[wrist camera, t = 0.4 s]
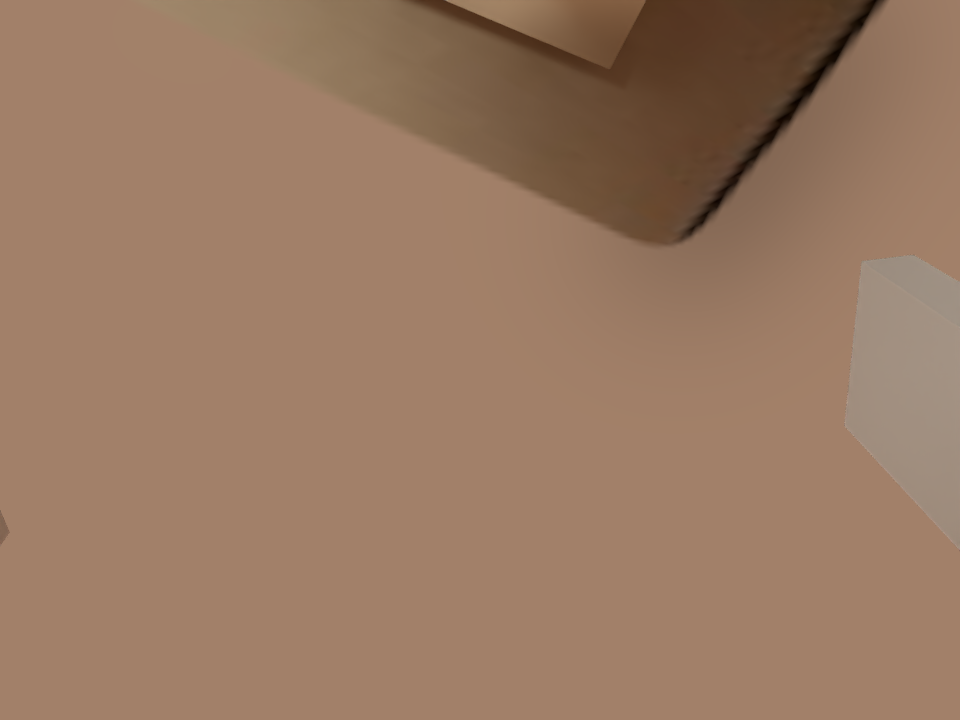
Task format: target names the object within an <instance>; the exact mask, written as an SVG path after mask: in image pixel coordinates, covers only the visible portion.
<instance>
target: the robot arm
mask: <svg viewBox="0 0 960 720" xmlns="http://www.w3.org/2000/svg"><path fill="white" fill-rule="evenodd" d="M844 426H845V427H846V428H847V429H848V430H849V431H850V433H851V434H852V435H853V436H854V437H855V438H856V439H857V440H858V441H859V442H860V443H861V444H862V445H863V447H864V448H865V449H866V450H867V451H868V452H869V453H870V454H871V455H872V456H873V457H874V458H875V460H876V461H877V462H878V463H879V464H880V465H881V466H882V467H883V468H884V469H885V470H886V471H887V472H888V474H889V475H890V476H891V477H892V478H893V479H894V480H895V481H896V482H897V483H898V484H899V485H900V486H901V488H902V489H903V490H904V491H905V492H906V493H907V494H908V495H909V496H910V497H911V498H912V500H914V502H915V503H916V504H917V505H918V506H919V507H920V508H921V509H922V510H923V511H924V512H925V513H926V514H927V516H928V517H929V518H930V519H931V520H932V521H933V522H934V523H935V524H936V525H937V527H938V528H939V529H940V530H941V531H942V532H943V533H944V534H945V535H946V536H947V537H948V538H949V539H950V540H951V542H952V543H953V544H954V545H955V546H956V547H957V548H958V549H959V550H960V282H959V281H957V280H955V279H954V278H952V277H950V276H949V275H947V274H945V273H943V272H942V271H940V270H938V269H937V268H935V267H933V266H932V265H930V264H928V263H926V262H925V261H923V260H922V259H920V258H918V257H916V256H915V255H908V256H899V257H892V258H884V259H875V260H867V261H862V262H861V271H860V281H859V290H858V300H857V309H856V318H855V328H854V337H853V347H852V356H851V367H850V375H849V385H848V394H847V404H846V414H845V423H844ZM8 534H9V530H8V527H7V525H6V523H5V521H4V518H3V516H2V514H1V512H0V545H1V544H2V543H3V541H4V540H5V538H6V537H7V535H8Z"/></svg>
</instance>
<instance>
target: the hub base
mask: <svg viewBox="0 0 960 720" xmlns="http://www.w3.org/2000/svg"><path fill="white" fill-rule="evenodd" d="M445 1H447V2H450V3H452V4H454V5H457V6H459V7H462V8H464V9H466V10H469V11H471V12H473V13H476V14H478V15H481V16H483V17H485V18H488V19H490V20H493V21H495V22H497V23H500V24H502V25H504V26H507V27H509V28H512V29H514V30H516V31H519V32H521V33H523V34H526V35H528V36H531V37H533V38H535V39H538V40H540V41H542V42H545V43H547V44H550V45H552V46H554V47H557V48H559V49H561V50H564V51H566V52H569V53H571V54H573V55H576V56H578V57H580V58H583V59H585V60H588V61H590V62H592V63H595V64H597V65H600V66H602V67H604V68H607V69H609V70H610V68H611V66H612V64H613V63H614V61H615V59H616V57H617V55H618V53H619V51H620V49H621V47H622V45H623V43H624V42H625V40H626V38H627V36H628V34H629V32H630V30H631V28H632V26H633V24H634V22H635V21H636V19H637V17H638V15H639V13H640V11H641V9H642V7H643V5H644V3H645V1H646V0H445Z"/></svg>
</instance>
